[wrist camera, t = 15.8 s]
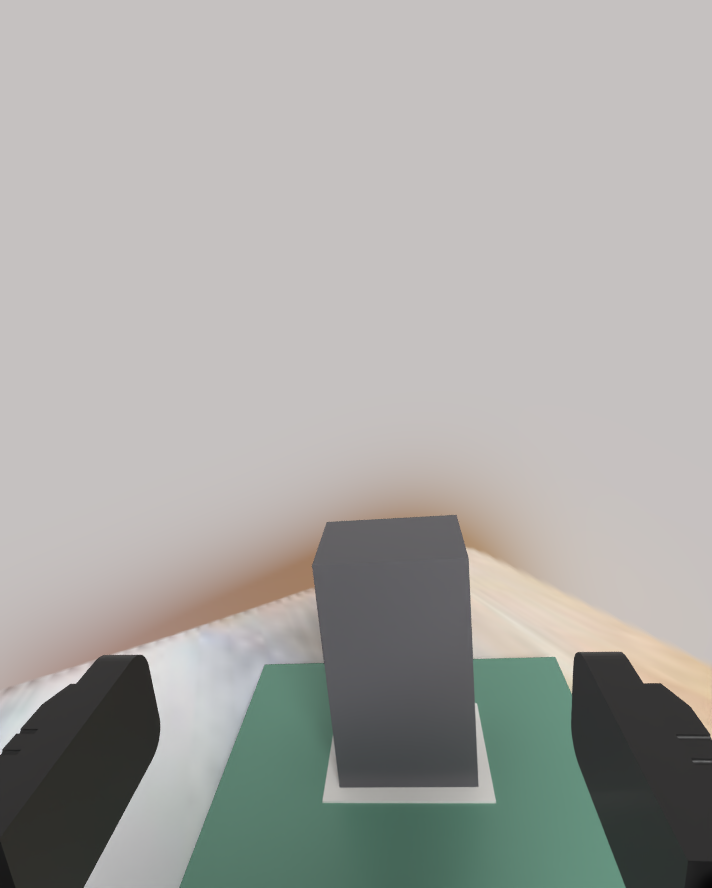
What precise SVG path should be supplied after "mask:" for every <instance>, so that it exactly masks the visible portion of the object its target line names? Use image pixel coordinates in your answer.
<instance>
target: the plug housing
mask: <svg viewBox="0 0 712 888" xmlns="http://www.w3.org/2000/svg"><path fill="white" fill-rule="evenodd" d="M312 568H313V576H314V584H315V593H316V601H317V609H318V617H319V625H320V633H321V641H322V649H323V657H324V665H325V673H326V682H327V690H328V698H329V706H330V714H331V722H332V730H333V738H334V746H335V754H336V762H337V770H338V778H339V787H340V788H372V787H479V786H478V763H477V741H476V718H475V695H474V673H473V650H472V627H471V605H470V582H469V559H468V555H467V551H466V548H465V544H464V540H463V537H462V533H461V530H460V526H459V523H458V519H457V515H447V516H430V517H412V518H393V519H375V520H357V521H339V522H327V523H326V527H325V529H324V532H323V535H322V538H321V541H320V544H319V547H318V550H317V553H316V556H315V559H314V562H313V564H312Z"/></svg>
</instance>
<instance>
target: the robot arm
mask: <svg viewBox="0 0 712 888" xmlns="http://www.w3.org/2000/svg"><path fill="white" fill-rule="evenodd" d="M571 732H572V740H573V746H574V751H575V755H576V758H577V762H578V764H579V767H580V770H581V772H582V775H583V778H584V780H585V783H586V785H587V788H588V791H589V793H590V796H591V798H592V801H593V804H594V806H595V809H596V811H597V814H598V817H599V819H600V822H601V824H602V827H603V830H604V832H605V835H606V838H607V840H608V843H609V845H610V848H611V851H612V853H613V856H614V858H615V861H616V864H617V866H618V869H619V871H620V874H621V877H622V879H623V882H624V884H625V887H626V888H712V740H711V737H710V734H709V732H708V731H707V729H706V728H705V727H704V725H703V724H702V722H701V721H700V720H699V718H698V717H697V715H696V714H695V712H694V711H693V710H692V708H691V707H690V706H689V705H688V704H686V703H685V702H684V701H683V700H681V699H680V698H679V697H677V696H676V695H675V694H674V693H672V692H671V691H670V690H669V689H667V688H666V687H665V686H663V685H662V684H661V683H647V684H643V682H642V680H641V679H640V677H639V676H638V674H637V673H636V671H635V669H634V668H633V666H632V665H631V663H630V661H629V660H628V658H627V657H626V656H625V655H624V654H623V653H622V652H577V653H576V654H575V657H574V666H573V688H572V710H571ZM159 736H160V718H159V713H158V708H157V703H156V699H155V694H154V689H153V684H152V679H151V675H150V670H149V665H148V662H147V660H146V658H145V657H144V656H143V655H103V656H101V657H99V658H98V659H97V660H96V661H95V662H94V663H93V664H92V666H91V667H90V668H89V669H88V670H87V672H86V673H85V674H84V675H83V676H82V678H81V679H80V680H79V681H78V682H77V683H76V684H70V685H68V686H67V687H66V688H64V689H63V690H61V691H60V692H59V693H57V694H56V695H55V696H53V697H52V698H50V699H49V700H48V701H46V702H45V703H44V704H42V705H41V706H40V707H39V709H38V710H37V711H36V712H35V713H34V714H33V715H32V717H31V718H30V719H29V720H28V721H27V722H26V723H25V725H24V726H23V727H22V728H21V731H20V734H16V735H15V736H14V737H13V738H12V739H11V740H10V742H9V743H8V744H7V745H6V746H5V747H4V748H3V749H2V750H3V751H2V754H1V755H0V888H84V886H85V884H86V882H87V880H88V878H89V876H90V875H91V873H92V871H93V869H94V867H95V865H96V863H97V861H98V860H99V858H100V856H101V854H102V852H103V850H104V848H105V847H106V845H107V843H108V841H109V839H110V837H111V835H112V834H113V832H114V830H115V828H116V826H117V824H118V822H119V820H120V819H121V817H122V815H123V813H124V811H125V809H126V807H127V806H128V804H129V802H130V800H131V798H132V796H133V794H134V793H135V791H136V789H137V787H138V785H139V783H140V781H141V779H142V778H143V776H144V774H145V772H146V770H147V768H148V766H149V765H150V763H151V761H152V759H153V757H154V755H155V752H156V749H157V746H158V742H159Z"/></svg>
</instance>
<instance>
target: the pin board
mask: <svg viewBox="0 0 712 888" xmlns="http://www.w3.org/2000/svg"><path fill="white" fill-rule="evenodd" d="M473 673H474V695H475V718H476V741H477V763H478V786H479V787H372V788H340V787H339V778H338V770H337V762H336V754H335V746H334V738H333V730H332V722H331V714H330V706H329V698H328V690H327V682H326V673H325V665H324V663H308V664H269V665H265V666H264V668H263V671H262V673H261V676H260V679H259V681H258V684H257V686H256V689H255V692H254V694H253V697H252V699H251V702H250V705H249V707H248V710H247V712H246V715H245V718H244V720H243V723H242V726H241V728H240V731H239V733H238V736H237V739H236V741H235V744H234V746H233V749H232V752H231V754H230V757H229V759H228V762H227V765H226V767H225V770H224V773H223V775H222V778H221V780H220V783H219V786H218V788H217V791H216V793H215V796H214V799H213V801H212V804H211V806H210V809H209V812H208V814H207V817H206V819H205V822H204V825H203V827H202V830H201V833H200V835H199V838H198V840H197V843H196V846H195V848H194V851H193V853H192V856H191V859H190V861H189V864H188V866H187V869H186V872H185V874H184V877H183V880H182V882H181V885H180V887H179V888H626V887H625V884H624V882H623V879H622V877H621V874H620V871H619V869H618V866H617V864H616V861H615V858H614V856H613V853H612V851H611V848H610V845H609V843H608V840H607V838H606V835H605V832H604V830H603V827H602V824H601V822H600V819H599V817H598V814H597V811H596V809H595V806H594V804H593V801H592V798H591V796H590V793H589V791H588V788H587V785H586V783H585V780H584V778H583V775H582V772H581V770H580V767H579V764H578V762H577V758H576V755H575V751H574V746H573V740H572V732H571V710H572V694H571V692H570V689H569V687H568V685H567V683H566V680H565V678H564V676H563V674H562V671H561V669H560V667H559V665H558V662H557V660H556V658H555V657H537V658H499V659H473Z"/></svg>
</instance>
